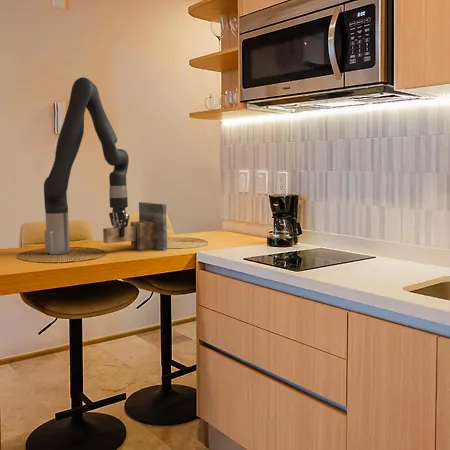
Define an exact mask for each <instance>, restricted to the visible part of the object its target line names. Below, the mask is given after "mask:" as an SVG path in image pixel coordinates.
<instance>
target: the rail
mask: <svg viewBox="0 0 450 450" xmlns="http://www.w3.org/2000/svg"><path fill="white" fill-rule="evenodd" d="M119 229H120V228H119V227H116V228H114V227H107V228H106V227H105V228H103V229H102V231H103V233H102V235H103V236H102V237H103V241H102V242H103V243H104V244H115V243H124V242H125V243H127V242H131V241H136V240H137V226H131V225H130V226H129V225H128V226H127V227H125V228H124V231H125V236H124V237H119Z"/></svg>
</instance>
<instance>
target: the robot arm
mask: <svg viewBox="0 0 450 450" xmlns="http://www.w3.org/2000/svg"><path fill="white" fill-rule="evenodd" d="M68 101H69V102H68V106H67V110H66V113H65V116H64V119H63V123H62V125H61V128H60V132H59V134H58V138H57V142H56V146H55V153H54V154H55V155H54V161H53V164H52V167H51V170H50V173H49V175H48V176H47V178H45V179H44V182H43V197H44V198H43V199H44V210H45V213H44V214H45V230H44V246H45V247H44V248H45V249H44V252H45V254H48V253H49V254H48V255H64V254H68V253H70V249H71V248H70V229H69V206H68V200H67V198H68V197H67V191H68V187H69V182H70V176H71V172H72V168H73V165H74V162H75V159H76V158H77V155H78V153H79V150H80V148H81V147H80V146H81V143H82V140H83V136H84V131H85V129H84V128H85V113H86V109H87V111H88V113H89V114H90V117H91V121H92V124H93V128H94V131H95V133H96V136H97V137H98V140H99V142H100V144H101V148H102V152H103V157H104V160H105V161H106V163H107V164H108V165H110V166H112V167H113V170H112V172H111V171H110V173H109V174H108V177H109V191H108V193H109V208H110V209H112V212H109V213H108V215H109V219H110V224H111V226H112V227H113V228H116V227H119V228H120V229H119V237H124V236H125V231H124V228H125V227H129V221H130V214H127V211H126V208H128V207H129V202H128V189H127V173H128V168H129V161H130V160H129V159H130V158H129V154H128V152H127V151H126V150H125V149H122V148H117V146H116V144H117V142H118V137H117V135H116V133H115V130H114V128H113V126H112V124H111V123H110V120H109V118H108V117H107V114H106V112H105V110H104V107H103V104H102V101H101V96H100V93H99V89H98V87H97V86H96V84H95V83H93V82H92V81H91V80H90V78H87V77H79V78H77V79H76V80H75V81H74V82H73V84H72V86H71V91H70V97H69V100H68Z"/></svg>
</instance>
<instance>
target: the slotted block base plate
mask: <svg viewBox="0 0 450 450" xmlns="http://www.w3.org/2000/svg"><path fill="white" fill-rule="evenodd" d="M130 226H137V240H136V241H130V249H131V250H134V251H135V250H137V252H138V251H139V252H143V251H144V252H145V251H153V250H159V251H168V238H167V237H168V235H167V234H168V233H167V231H168V230H167V228H168V227H167V204H165V203H153V202H146V201H145V202H144V201H141V202H140V201H139V202H138V221H130Z"/></svg>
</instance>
